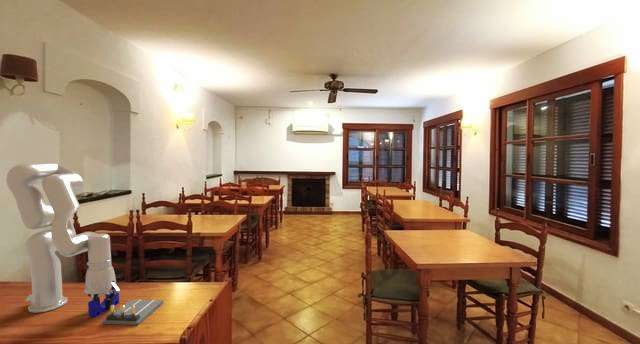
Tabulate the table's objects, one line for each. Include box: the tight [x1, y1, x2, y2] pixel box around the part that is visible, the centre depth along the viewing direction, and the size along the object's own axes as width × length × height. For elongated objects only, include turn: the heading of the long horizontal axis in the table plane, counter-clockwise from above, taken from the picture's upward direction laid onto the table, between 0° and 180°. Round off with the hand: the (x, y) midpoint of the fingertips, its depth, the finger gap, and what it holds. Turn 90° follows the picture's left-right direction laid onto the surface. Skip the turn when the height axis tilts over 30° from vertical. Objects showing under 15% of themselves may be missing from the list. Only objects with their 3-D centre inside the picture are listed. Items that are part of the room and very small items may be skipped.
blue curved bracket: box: [87, 290, 120, 319], centre depth 130 cm, size 12×4×6 cm, turn 172°
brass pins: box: [105, 304, 140, 321], centre depth 121 cm, size 12×2×5 cm, turn 87°
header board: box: [102, 299, 164, 326], centre depth 128 cm, size 14×17×1 cm
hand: (102, 307), depth 130 cm, fingers closed on blue curved bracket, 4 cm apart
